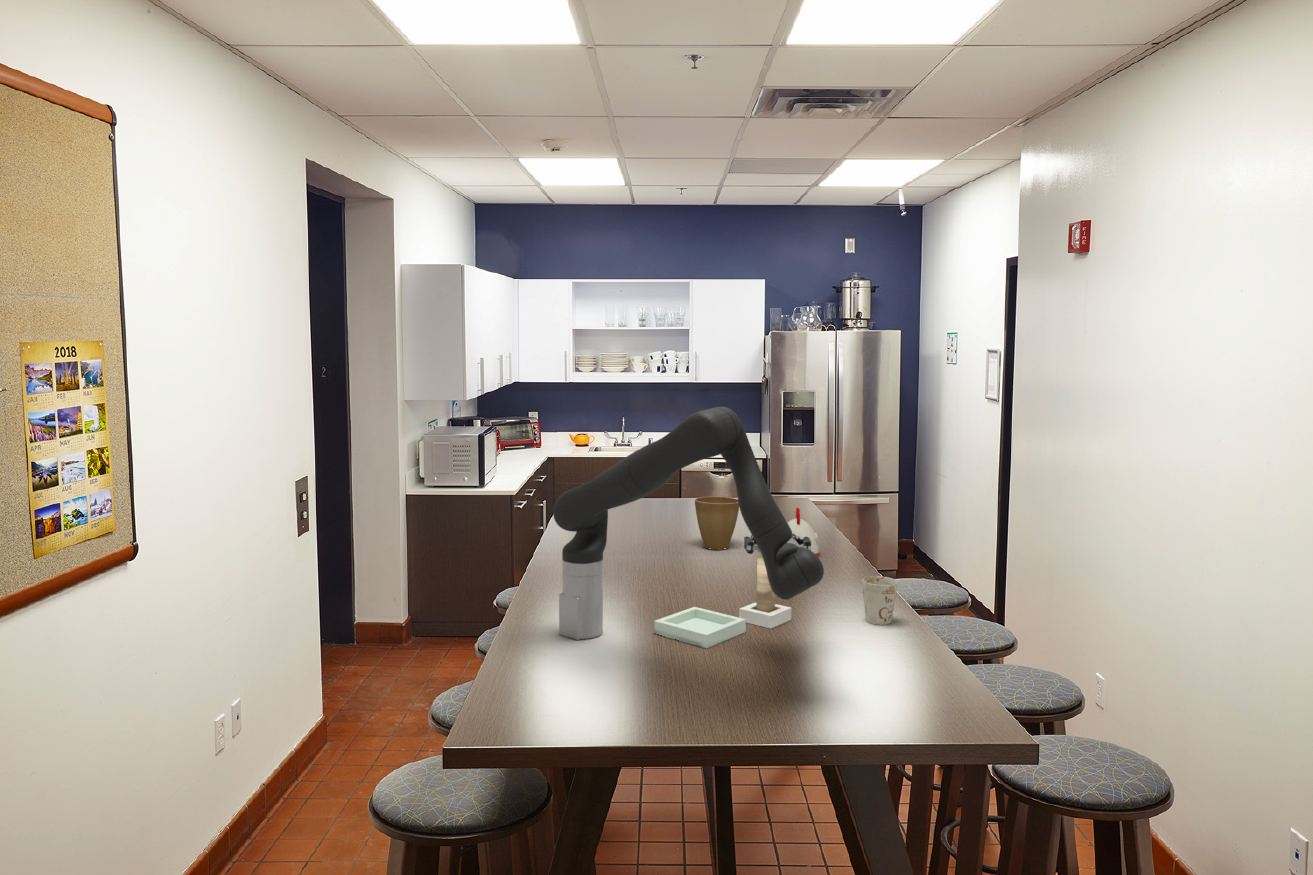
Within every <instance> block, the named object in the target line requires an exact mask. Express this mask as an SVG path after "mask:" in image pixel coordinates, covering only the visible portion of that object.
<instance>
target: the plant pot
mask: <svg viewBox="0 0 1313 875" xmlns="http://www.w3.org/2000/svg"><path fill="white" fill-rule="evenodd" d="M694 507H695V513H696V518H697V525H698V528H699V534H700V536H701V540H702V543H703V546H704V548H705V547H706V548H705V549H707V548H711V549H724V548H727V549H728V547H729V545H730V543H731V540H732V537H733V534H734V531H735V528H736V524H737V519H738V516H739V511H740V507H739V502H738V498H734V497H727V496H700V497H696V498H694ZM711 549H710V550H711ZM724 550H725V549H724Z"/></svg>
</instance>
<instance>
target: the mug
mask: <svg viewBox="0 0 1313 875" xmlns="http://www.w3.org/2000/svg"><path fill="white" fill-rule="evenodd" d="M861 581H862V582H861V585H862V586H861V588H862V595H863V596H862V597H863V606H864V615H865V616H864V617H865V621H866V622H867V623H868V624H873V625H879V626H880V625H881V626H883V625H885V626H886V625H890V624H891V623H892V621H893V614H894V609H895V603H896V597H897V592H898V584H899V583H898V580H896V579H895V578H892V577H888V576H881V575H879V576H878V575H872V576H871V575H870V576H865V577H863V578H862V579H861Z"/></svg>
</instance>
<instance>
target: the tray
mask: <svg viewBox="0 0 1313 875" xmlns="http://www.w3.org/2000/svg"><path fill="white" fill-rule="evenodd" d="M746 627H747V623H746V619H742V618H739V616H734V615H729V614H726V613H721V612H717V611H714V610H710V609H706V608H705V609H704V608H701V607H697V606H693V607H690V608H687V609H685V610H682V611H678V612H675V613H672V614H670V615H667V616H663V617H662V618H659V619H655V620H654V621H653V634H654V633H656V634H655V635H657V634H659V635H658V636H660V635H662V636H661V637H664V636H665V637H664V638H668V639H671V640H675V639H676V640H675V641H678V640H679V642H682V643H686V644H688V645H693V646H697V647H700V648H703V649H709V648H711V647H714V646H716V645H718V644H720V643H723V642H725V641H727V640H730V639H733V638H734V637H737V636H739V635H741V634H744V633H746Z"/></svg>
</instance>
